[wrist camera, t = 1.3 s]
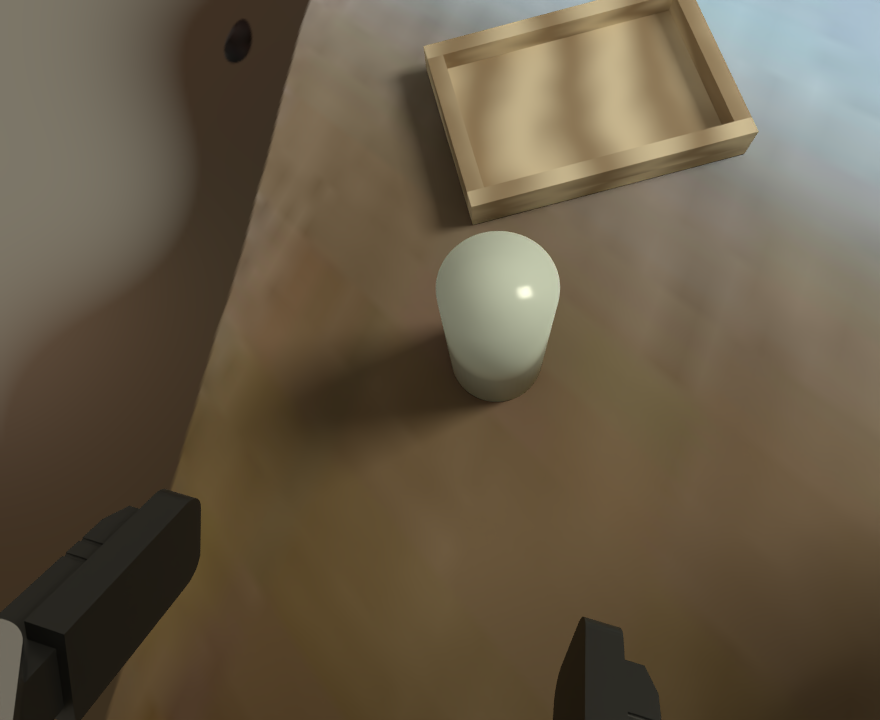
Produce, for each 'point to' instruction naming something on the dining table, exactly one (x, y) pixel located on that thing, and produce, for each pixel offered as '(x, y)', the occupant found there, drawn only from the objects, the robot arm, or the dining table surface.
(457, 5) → the dining table surface
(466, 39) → the tray
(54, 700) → the robot arm
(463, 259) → the sage domed cylinder
